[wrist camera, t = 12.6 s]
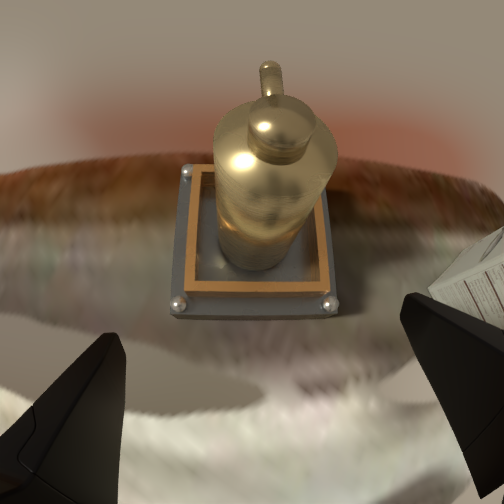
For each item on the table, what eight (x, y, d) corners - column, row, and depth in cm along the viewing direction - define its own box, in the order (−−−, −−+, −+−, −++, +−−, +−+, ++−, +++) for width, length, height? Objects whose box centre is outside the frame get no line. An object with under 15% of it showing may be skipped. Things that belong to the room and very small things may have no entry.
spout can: (296, 266, 20) (373, 163, 9) (222, 274, 20) (217, 168, 8) (282, 192, 22) (326, 60, 11) (214, 197, 21) (208, 58, 10)
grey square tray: (313, 190, 26) (330, 157, 21) (324, 318, 22) (349, 309, 18) (186, 187, 25) (178, 151, 20) (177, 318, 21) (163, 309, 17)
